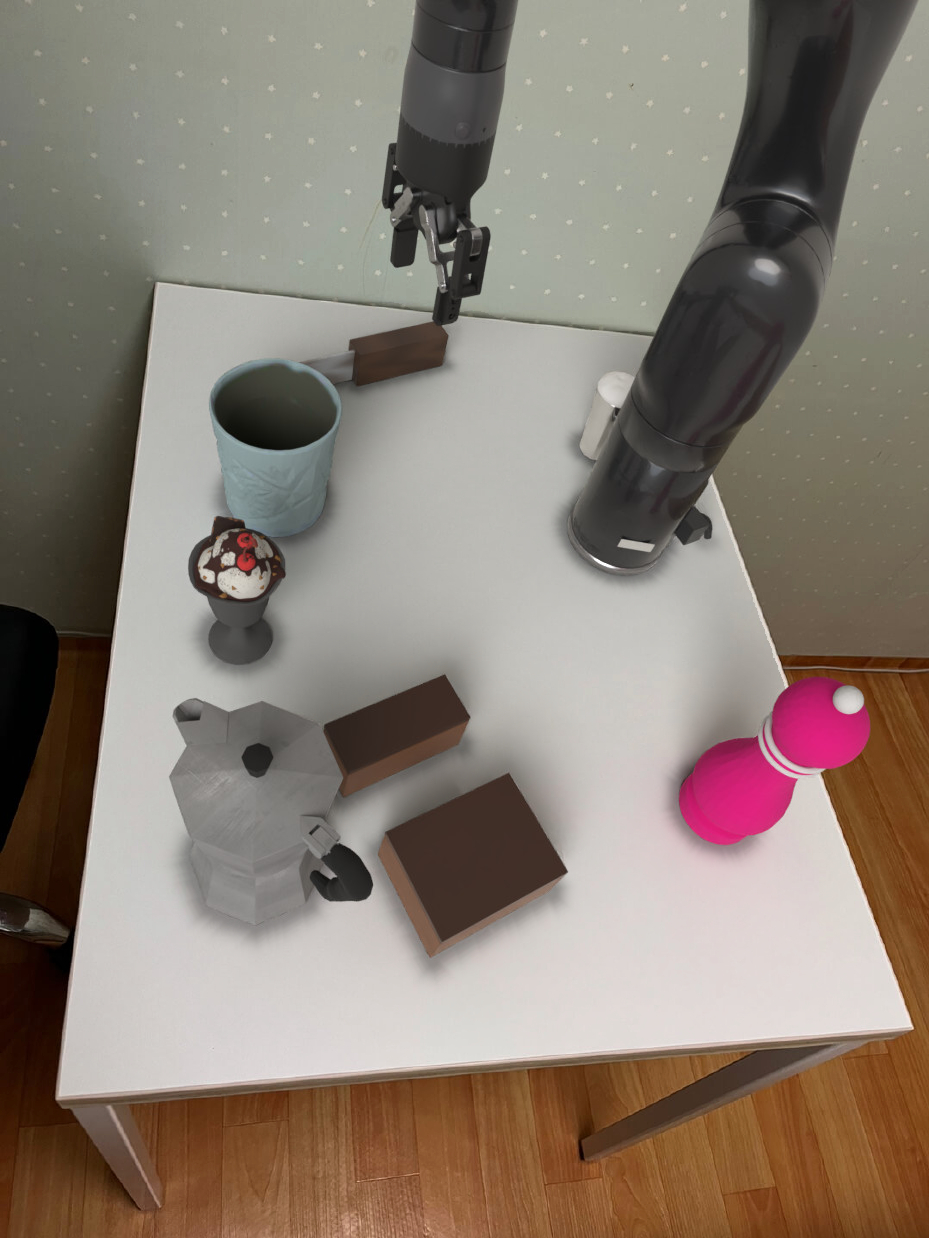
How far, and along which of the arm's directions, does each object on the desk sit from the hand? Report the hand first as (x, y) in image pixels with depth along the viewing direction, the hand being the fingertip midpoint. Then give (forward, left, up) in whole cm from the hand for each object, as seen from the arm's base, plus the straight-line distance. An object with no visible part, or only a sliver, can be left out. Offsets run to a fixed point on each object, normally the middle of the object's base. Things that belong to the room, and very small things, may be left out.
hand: (422, 292), depth 79 cm
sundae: (+26, +22, -11) cm, 36 cm away
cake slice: (+20, +35, -11) cm, 42 cm away
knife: (+6, -2, -11) cm, 12 cm away
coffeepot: (+32, +40, -11) cm, 52 cm away
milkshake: (-15, +15, -11) cm, 24 cm away
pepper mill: (-2, +51, -11) cm, 52 cm away
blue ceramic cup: (+18, +10, -11) cm, 24 cm away
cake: (+19, +46, -11) cm, 51 cm away
